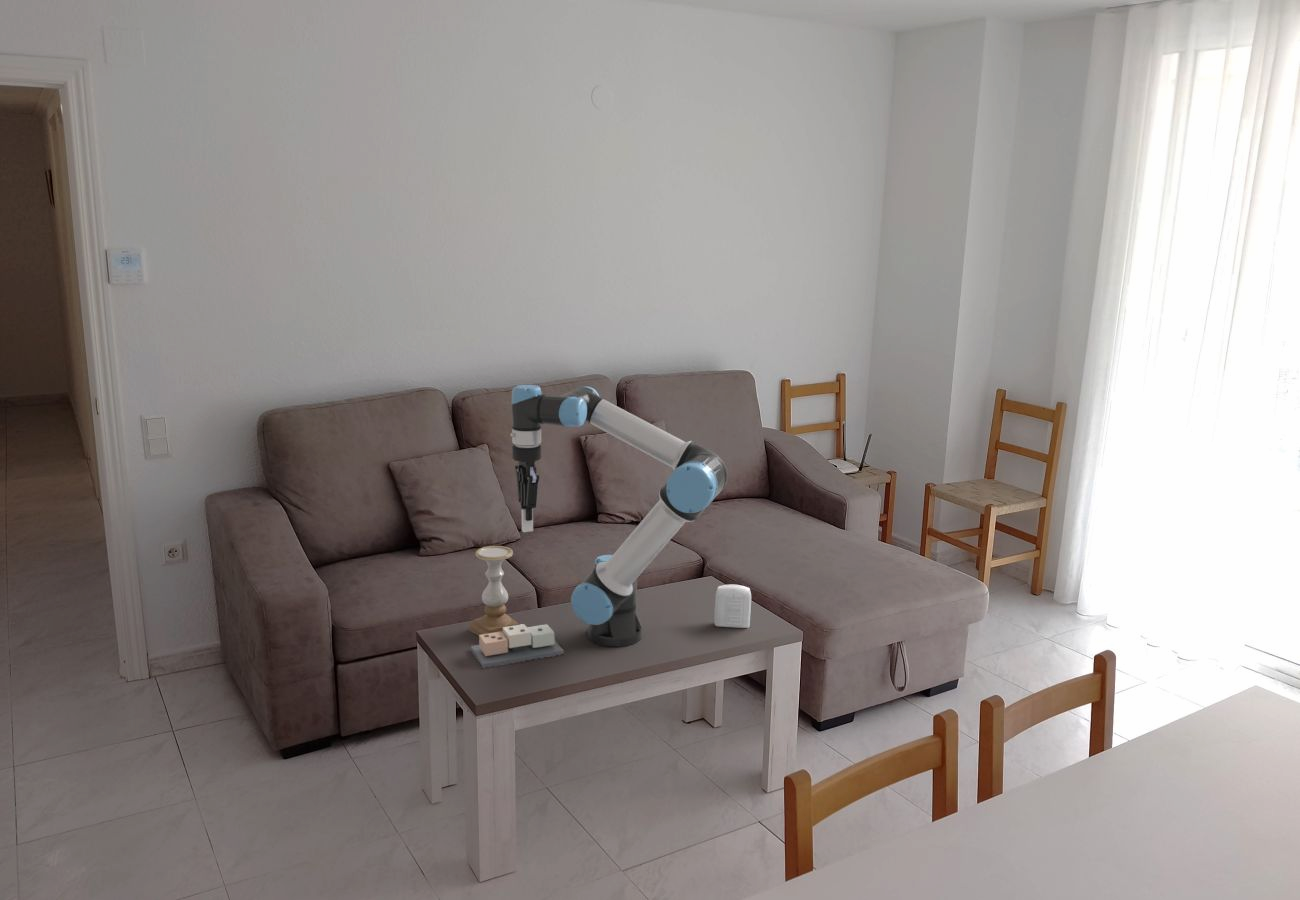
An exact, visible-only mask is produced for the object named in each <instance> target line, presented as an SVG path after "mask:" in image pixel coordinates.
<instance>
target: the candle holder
mask: <svg viewBox="0 0 1300 900" xmlns="http://www.w3.org/2000/svg"><path fill="white" fill-rule="evenodd" d="M513 555H514V551H513V549H512V548H510V547H508V546H503V545H488V546H482V547H480V548H478V549H477V550H476V551H475V556H476V557H477V558H478V559H479V560H481V561H482V560H483V561H485V562H486V563H487V570H486V571H485V572H484V574H485V577H486V578H487V581H488V584H487V585H486V587H485V589H484V590H483V592H482V595H481V601H482V602H483V604H485V606H484V610H483V611H484V613H485V614H484V615H482V616H481V617H478V618H474V619H473V620H472V623H469V631H470V632H471V633H472V632H473V633H474V634H473V633H472V634H473V635H475V634H476V635H477V636H476V635H475V636H476V637H478V636H479V635H482V634H488V633H495V632H502V633H503V627H508V626H514V625H519V623H518V622H517V621H516V620H515V619H513V618H512V617H511V616H509V615H508V614H507V613H506V612H507V607H506V605H505V604H506V603H507V602H508V600H509V593H508V591H507V589H506V588H505V586H504V585H503V583H502V579H503V576H504V575H505V571H503V569H502V563H503V562H504V560H507V559H510V558H511V557H512V556H513Z"/></svg>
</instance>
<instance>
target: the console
mask: <svg viewBox="0 0 1300 900" xmlns="http://www.w3.org/2000/svg"><path fill="white" fill-rule="evenodd" d="M471 650H472V651H471ZM470 651H471V653H472V654H473V653H474V654H473V655H474V657H475V656H476V657H475V658H476V660H477V659H478V660H477V661H478V663H479V662H480V663H479V665H480V666H481V665H482V666H481V668H482V669H487V668H486V667H489V668H492V667H491V666H494V667H498V666H497V665H500V666H503V665H502V664H506V665H510V664H509V663H512V664H514V663H513V662H518V661H523V660H524V661H523V662H526V661H525V660H529V661H531V660H530V659H535V660H538V659H537V658H541V659H545V658H544V657H547V658H551V656H552V657H556V655H558V656H561V654H565V653H564V651H565V650H564V649H563V648H562V646H560V644H559V643H558V642H557V641H556V640H555V639H554V645H549V646H543V647H537V648H533V647H532V646H531V645H526V646H520V647H514V648H509V647H508V652H507V653H501V654H495V655H489V656H485V655H484V653H483V652H482V650H481V649H480V647H479V644H477V645H471V646H470ZM518 663H519V662H518Z"/></svg>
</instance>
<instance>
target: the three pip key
mask: <svg viewBox="0 0 1300 900" xmlns="http://www.w3.org/2000/svg"><path fill="white" fill-rule="evenodd" d="M478 645H479V647H480V649H481V650H482V652H483V653H484V655H485V656H489V655H495V654H501V653H507V652H508V640H507V639H506V637H505V636H504V635H503V633H502V632H495V633H488V634H482V635H479V637H478Z"/></svg>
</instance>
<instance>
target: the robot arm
mask: <svg viewBox="0 0 1300 900" xmlns="http://www.w3.org/2000/svg"><path fill="white" fill-rule="evenodd" d="M510 405H511V424H512V425H511V433H510V434H509V435H510V437H511V439H512V440H511V442H512V447H511V452H512V453H511V455H512V456H511V457H512V458H511V459H513V461H515V462H518V464H517V465H515V466H514V469H515V474H516V485H517V486H516V487H517V498H518V503H520V509H521V531H522V533H529V532H530V533H531V532H534V508H536V509H537V501H538V500H537V499H538V497H537V496H538V486H539V485H538V484H539V481H540V475H539V474H537V467H536V463H535V462H537V461H540V460H541V459H542V446H541V443H542V425H550V426H560V427H567V428H571V427H572V428H573V427H575V428H576V427H579V428H580V427H582V426H583V425H584V424H585V422H586V423H589V424H590V425H593V426H594V427H596V428H598V429H599V430H601V431H603V432H605V433H607V434H609V435H610V436H613V437H614V438H617V439H619V440H620V441H622V442H624V443H626V444H627V445H629V446H631V447H634V449H637V450H639V451H641V452H642V453H645V454H646V455H648V456H649V457H652V458H653V459H655V460H657V461H659V462H661V463H663V464H665V465H667V466H669V467H670V468H672V472H671V474H670V475H669V477H668V480H667V481H666V483H665V484H664V485H663V486H662V487H661V489H659V491H658V496H659V497H658V498H659V500H658V501H657V502H656V503H655V505H654V506H653V507H652V508H651V510H650V511H649V512H648V513H646V516H644V518H643V519H642V520H641V521H640V522H639V523H638V525H637V526H636V527H635V528H634V529H633V530H632V532H631V533H630V534H629V535H628V536H627V538H626V539H625V540H624V541H623V542H622V543H621V545H620V546H619V547H618V548H617V550H616V551H615V552H614V554H603V555H600V556H597V557H596V558H595V560H594V563H593V566H594V568H593V569H592V570H591V572H589V573H588V575H587V576H586V578H584V580H583V581H582V582H580V583H579V584H578V585H577V586H576V587H575V588H574V590H573V591H572V594H571V597H570V603H571V609H572V611H573V613H574V614H575V615H576V617H577V618H578V619H579V620H580V621H582V622H583V623H584V624H588V628H587V636H588V639H589V640H590V641H591V642H592V643H595V644H596V645H600V646H604V647H615V648H616V647H617V648H619V647H625V646H631V645H634V644H637V643H638V642H640V641H641V639H642V638H643V626H642V622H641V620H640V616H639V614H638V609H637V602H638V601H637V599H638V598H637V596H638V595H637V594H638V593H637V591H638V577H639V576H640V575H641V574H642V573H643V572H644V571H645V569H646V568H647V567H648V566H649V565H650V564H651V562H652V561H653V560H654V559H655V558H656V557H657V556H658V554H659V553H661V551H662V550H663V549H664V547H665V546H666V545H667V544H668V543H669V542H670V540H671V539H673V537H674V536H675V535H676V534H677V532H678V531H679V530H680V529H681V528H682V527H683V526H684V524H685V523H693V522H694V521H696V520H697V518H699V516H700V515H701V514H703V512H704V511H705V510H706V508H707V507H709V506H710V505H711V504H712V502H713V501H714V500H715V499H716V497H717V496H718V495H719V494H720V493H721V492H722V491H723V490H724V488H725V487H726V485H727V483H728V475H729V473H728V468H727V466H726V463H725V462H724V461H723V459H722V458H721V457H720V456H719V455H718V454H717V453H715V452H713V451H712V450H710V449H708V448H706V447H704V446H703V445H700V444H699V443H696V442H695V441H693V440H689V441H684V440H682V439H681V438H679V437H677V436H674V435H673V434H671V433H669V432H667V431H665V430H663V429H661V428H660V427H657V426H656V425H653V424H652V423H650V422H648V421H646V420H644V419H642V418H640V417H639V416H637V415H635V414H633V413H630V412H628V411H627V410H625V409H623V408H621V407H620V406H617V405H616V404H613V403H612V402H610V401H608V400H606V399H604V398H602V397H601V396H600V395H599V392H597V390H596V389H595V388H593V387H591V386H580V387H577V388H574V389H573V390H571V391H569V392H566V393H564V394H562V395H551V394H550V395H548V394H543V393H542V388H541V387H540V386H539V385H535V384H519V385H516V386H513V388H512V390H511V402H510Z"/></svg>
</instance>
